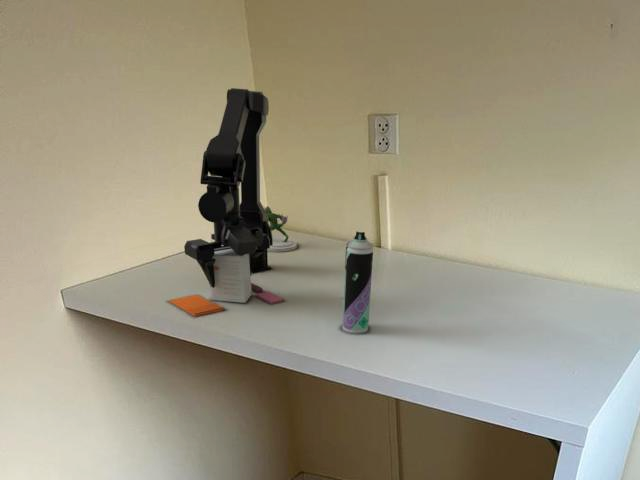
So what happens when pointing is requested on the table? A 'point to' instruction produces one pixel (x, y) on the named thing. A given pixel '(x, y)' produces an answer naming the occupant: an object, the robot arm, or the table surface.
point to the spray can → (357, 284)
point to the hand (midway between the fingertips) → (230, 283)
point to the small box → (231, 277)
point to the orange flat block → (196, 305)
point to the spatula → (265, 295)
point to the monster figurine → (281, 242)
